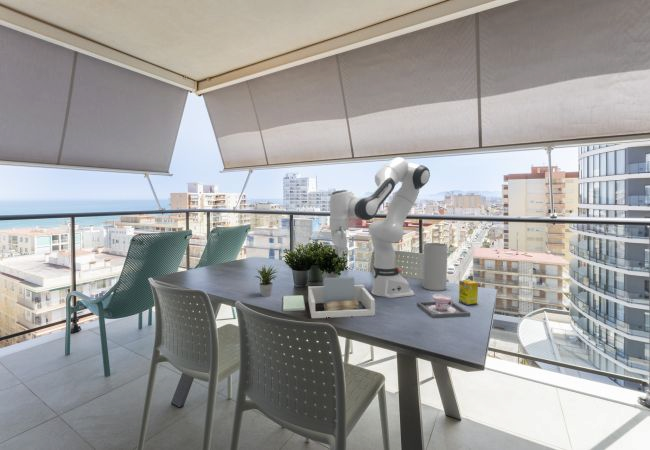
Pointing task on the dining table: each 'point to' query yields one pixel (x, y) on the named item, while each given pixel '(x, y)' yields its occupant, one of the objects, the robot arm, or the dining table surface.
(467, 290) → the supplement box
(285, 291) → the dining table surface
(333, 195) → the robot arm
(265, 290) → the house plant
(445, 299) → the teacup
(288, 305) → the sage board
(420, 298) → the dining table surface
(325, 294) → the light grey square panel
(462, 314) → the coaster tray
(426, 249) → the cylinder vase
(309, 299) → the white open bin
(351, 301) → the offcut stack
